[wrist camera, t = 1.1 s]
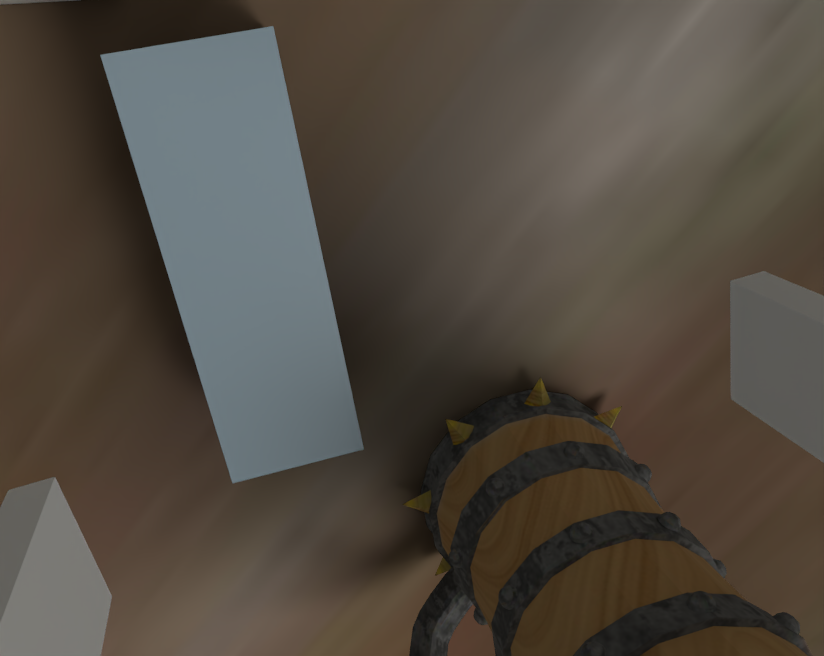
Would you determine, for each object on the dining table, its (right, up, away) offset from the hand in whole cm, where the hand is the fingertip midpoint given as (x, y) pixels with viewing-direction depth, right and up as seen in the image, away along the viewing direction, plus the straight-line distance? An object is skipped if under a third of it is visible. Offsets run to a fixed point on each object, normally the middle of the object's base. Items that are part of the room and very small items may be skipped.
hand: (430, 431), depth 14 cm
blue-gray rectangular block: (-7, +6, +16) cm, 18 cm away
